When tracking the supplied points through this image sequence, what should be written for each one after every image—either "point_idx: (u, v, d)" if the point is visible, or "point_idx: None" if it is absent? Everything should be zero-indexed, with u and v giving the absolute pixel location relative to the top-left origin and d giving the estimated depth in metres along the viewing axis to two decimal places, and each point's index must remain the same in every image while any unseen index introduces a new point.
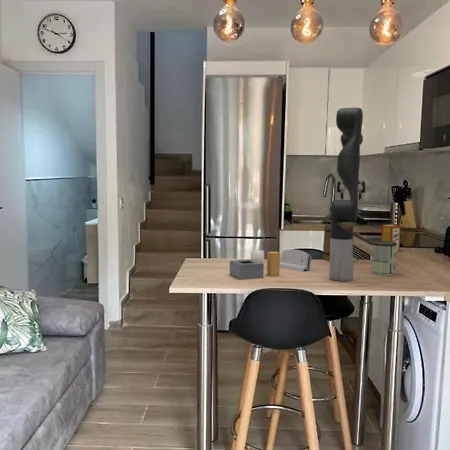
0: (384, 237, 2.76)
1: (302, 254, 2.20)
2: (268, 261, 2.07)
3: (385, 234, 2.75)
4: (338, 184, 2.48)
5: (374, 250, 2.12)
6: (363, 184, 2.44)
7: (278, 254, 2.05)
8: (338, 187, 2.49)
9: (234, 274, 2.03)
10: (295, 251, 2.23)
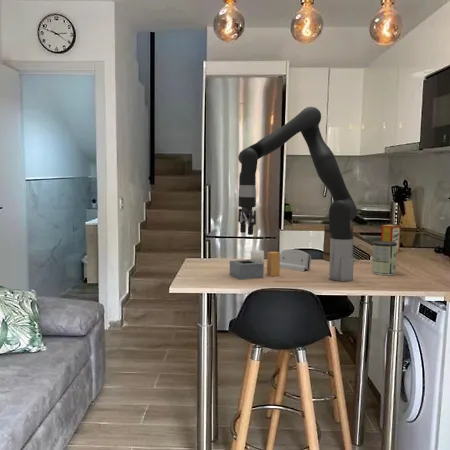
0: (384, 237, 2.76)
1: (302, 254, 2.21)
2: (268, 261, 2.07)
3: (385, 234, 2.75)
4: None
5: (374, 250, 2.12)
6: None
7: (278, 254, 2.05)
8: None
9: (234, 274, 2.03)
10: (295, 251, 2.24)
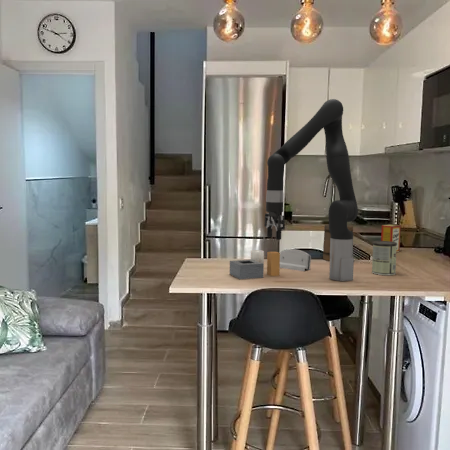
0: (384, 237, 2.76)
1: (302, 254, 2.21)
2: (268, 261, 2.07)
3: (385, 234, 2.75)
4: None
5: (374, 250, 2.12)
6: None
7: (278, 254, 2.05)
8: None
9: (234, 274, 2.03)
10: (294, 251, 2.24)
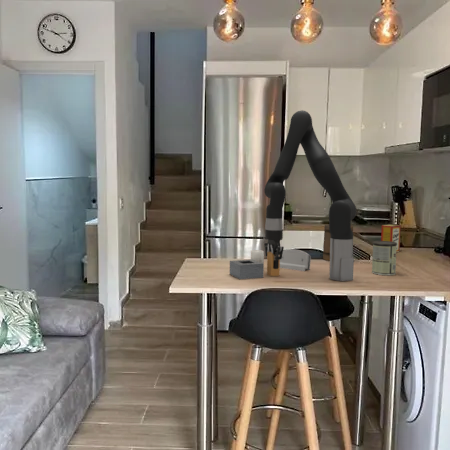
0: (384, 237, 2.76)
1: (302, 254, 2.21)
2: (268, 261, 2.07)
3: (385, 234, 2.75)
4: None
5: (374, 250, 2.12)
6: None
7: None
8: None
9: (234, 274, 2.03)
10: (294, 251, 2.24)
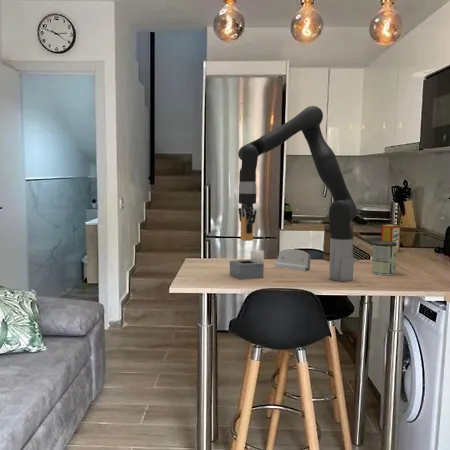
0: (384, 237, 2.76)
1: (302, 253, 2.21)
2: (241, 226, 2.03)
3: (385, 234, 2.75)
4: None
5: (374, 250, 2.12)
6: None
7: None
8: None
9: (234, 274, 2.03)
10: (294, 251, 2.24)
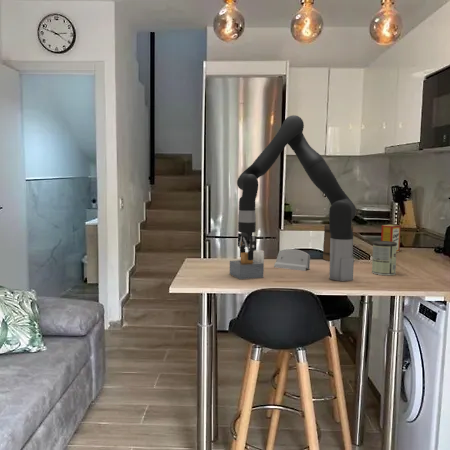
0: (384, 237, 2.76)
1: (302, 253, 2.22)
2: (241, 262, 2.05)
3: (385, 234, 2.75)
4: None
5: (374, 250, 2.12)
6: None
7: None
8: None
9: (234, 274, 2.03)
10: (293, 251, 2.24)
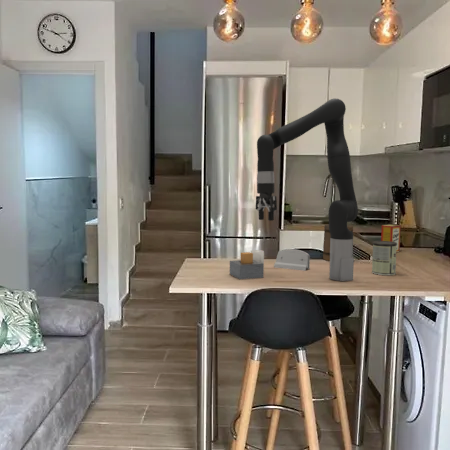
0: (384, 237, 2.76)
1: (301, 253, 2.22)
2: (241, 262, 2.05)
3: (385, 234, 2.75)
4: None
5: (374, 250, 2.12)
6: None
7: (251, 255, 2.03)
8: None
9: (234, 274, 2.03)
10: (293, 251, 2.25)
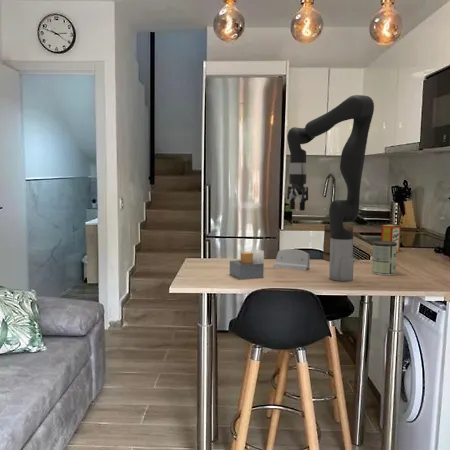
0: (384, 237, 2.76)
1: (302, 253, 2.23)
2: (241, 262, 2.05)
3: (385, 234, 2.75)
4: None
5: (374, 250, 2.12)
6: None
7: (251, 255, 2.03)
8: None
9: (234, 274, 2.03)
10: (293, 250, 2.25)
